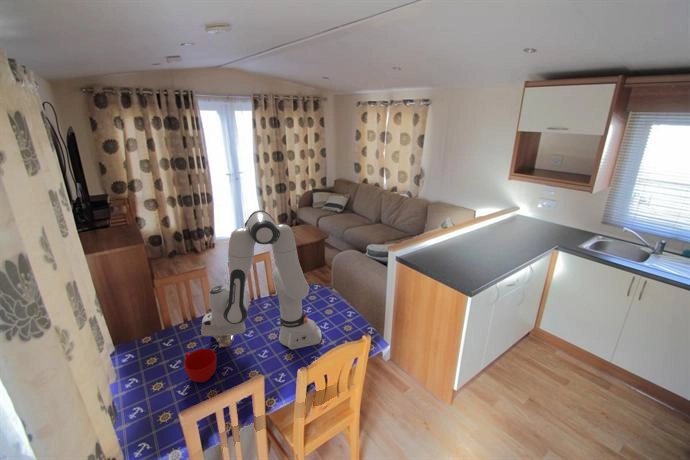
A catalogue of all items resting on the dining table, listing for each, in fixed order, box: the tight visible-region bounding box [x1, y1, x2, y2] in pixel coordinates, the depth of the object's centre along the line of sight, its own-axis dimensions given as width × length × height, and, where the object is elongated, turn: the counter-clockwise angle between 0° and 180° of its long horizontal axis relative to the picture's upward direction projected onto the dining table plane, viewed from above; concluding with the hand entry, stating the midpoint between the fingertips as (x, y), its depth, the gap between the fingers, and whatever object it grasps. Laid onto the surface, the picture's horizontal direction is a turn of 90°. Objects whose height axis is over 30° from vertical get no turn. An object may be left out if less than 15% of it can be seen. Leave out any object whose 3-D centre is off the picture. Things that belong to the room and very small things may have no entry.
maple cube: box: [218, 334, 233, 348], centre depth 158 cm, size 5×5×5 cm
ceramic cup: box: [183, 348, 218, 383], centre depth 142 cm, size 13×17×10 cm
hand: (225, 340), depth 158 cm, fingers closed on maple cube, 5 cm apart
